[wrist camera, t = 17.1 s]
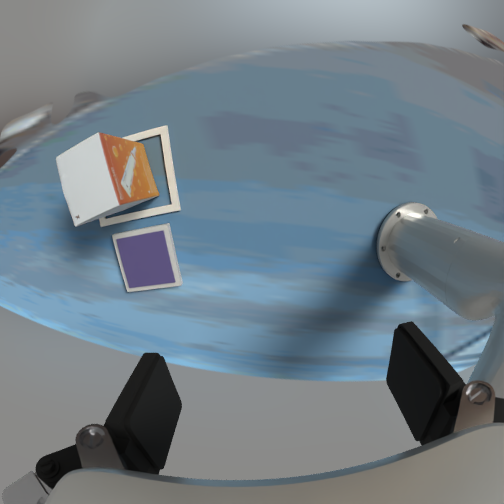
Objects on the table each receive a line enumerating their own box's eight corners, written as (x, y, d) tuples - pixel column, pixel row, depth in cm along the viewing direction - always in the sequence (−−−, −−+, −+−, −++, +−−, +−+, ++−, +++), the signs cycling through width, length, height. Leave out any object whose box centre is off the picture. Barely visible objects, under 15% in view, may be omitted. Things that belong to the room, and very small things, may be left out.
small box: (160, 195, 36) (120, 207, 24) (123, 210, 37) (73, 229, 24) (144, 142, 34) (98, 130, 21) (107, 159, 34) (53, 158, 22)
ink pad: (169, 222, 37) (166, 224, 36) (182, 282, 40) (180, 286, 38) (114, 233, 37) (111, 235, 36) (129, 289, 40) (126, 292, 39)
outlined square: (167, 125, 33) (166, 125, 33) (180, 209, 37) (180, 210, 36) (89, 150, 34) (87, 149, 33) (102, 226, 37) (100, 227, 37)
